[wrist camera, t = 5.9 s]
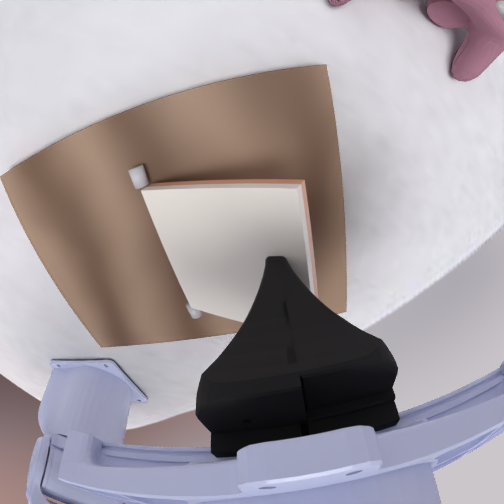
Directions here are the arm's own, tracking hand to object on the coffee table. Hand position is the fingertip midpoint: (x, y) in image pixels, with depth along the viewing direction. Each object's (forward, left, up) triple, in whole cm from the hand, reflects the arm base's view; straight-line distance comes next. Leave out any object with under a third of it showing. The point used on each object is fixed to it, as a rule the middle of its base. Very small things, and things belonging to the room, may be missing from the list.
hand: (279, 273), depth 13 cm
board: (-6, 0, -5) cm, 8 cm away
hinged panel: (-3, 0, -1) cm, 3 cm away
